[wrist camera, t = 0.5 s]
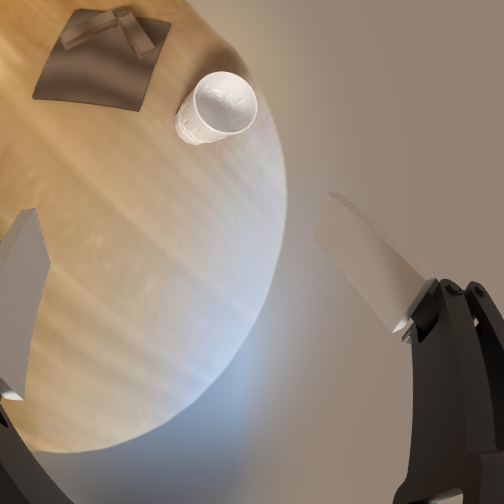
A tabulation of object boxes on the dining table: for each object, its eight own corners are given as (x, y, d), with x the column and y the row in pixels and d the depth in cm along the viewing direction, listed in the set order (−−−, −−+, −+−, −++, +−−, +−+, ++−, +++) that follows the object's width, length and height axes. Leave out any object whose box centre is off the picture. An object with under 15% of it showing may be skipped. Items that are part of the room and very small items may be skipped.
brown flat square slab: (138, 111, 31) (142, 103, 28) (33, 99, 22) (28, 90, 20) (168, 28, 29) (175, 16, 27) (75, 13, 21) (75, 0, 18)
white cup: (202, 89, 35) (233, 61, 26) (231, 130, 38) (269, 113, 30) (158, 116, 33) (179, 90, 24) (191, 160, 36) (221, 147, 28)
